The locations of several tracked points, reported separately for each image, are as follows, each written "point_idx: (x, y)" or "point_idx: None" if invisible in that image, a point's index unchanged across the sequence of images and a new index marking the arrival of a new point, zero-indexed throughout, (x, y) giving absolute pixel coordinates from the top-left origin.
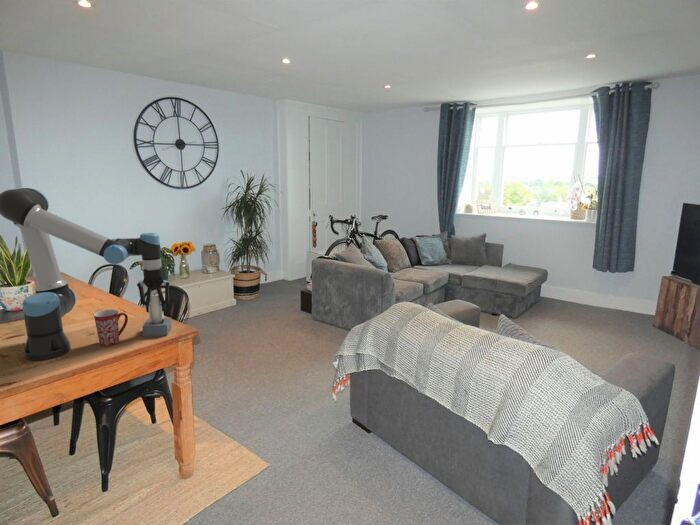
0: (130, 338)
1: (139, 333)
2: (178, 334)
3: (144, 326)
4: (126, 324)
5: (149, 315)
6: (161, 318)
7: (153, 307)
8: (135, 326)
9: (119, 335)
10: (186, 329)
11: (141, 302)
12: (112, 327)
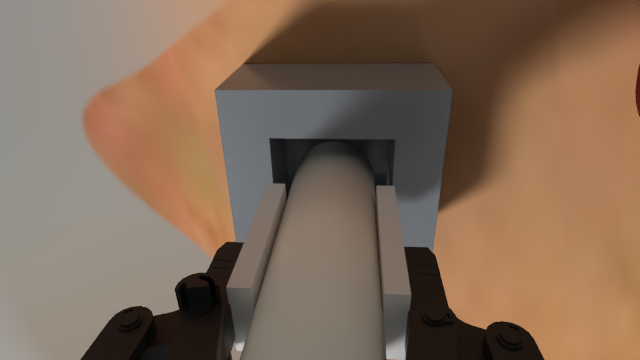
0: (539, 52)
1: (474, 151)
2: (165, 76)
3: (431, 90)
4: (636, 89)
5: (395, 212)
6: (276, 187)
7: (336, 264)
8: (515, 283)
9: None
10: (142, 168)
11: (531, 353)
12: None
